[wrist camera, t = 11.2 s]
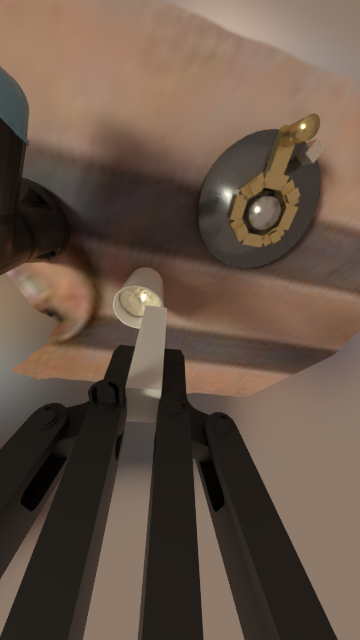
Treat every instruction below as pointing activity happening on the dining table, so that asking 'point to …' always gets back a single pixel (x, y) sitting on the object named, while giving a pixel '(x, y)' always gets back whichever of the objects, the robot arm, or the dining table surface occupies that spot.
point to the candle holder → (138, 296)
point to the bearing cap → (256, 199)
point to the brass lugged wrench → (273, 185)
